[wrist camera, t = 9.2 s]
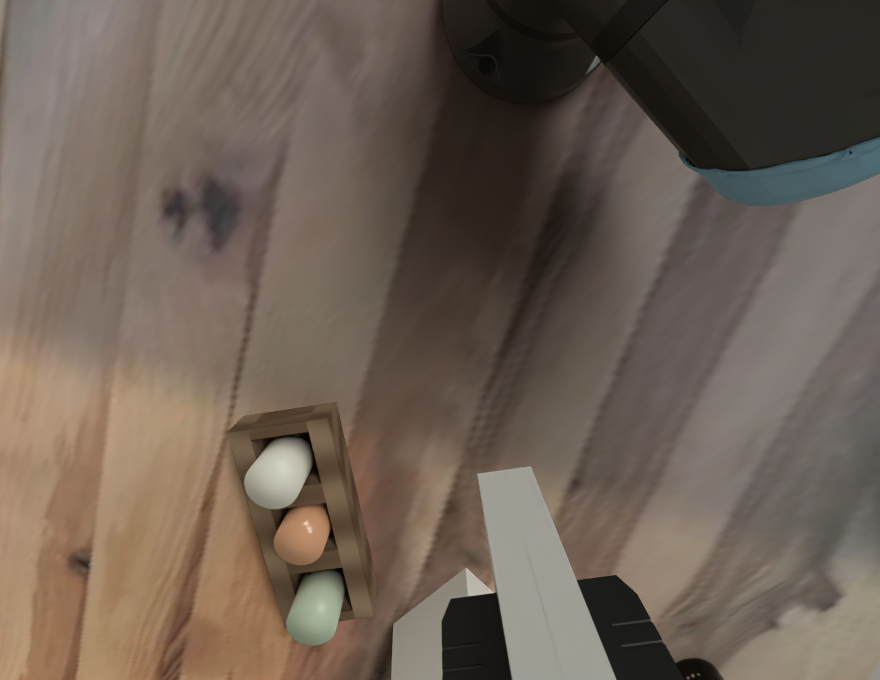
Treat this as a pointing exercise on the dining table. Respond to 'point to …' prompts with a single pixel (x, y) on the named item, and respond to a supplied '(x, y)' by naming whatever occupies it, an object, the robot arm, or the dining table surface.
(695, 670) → the supplement bottle
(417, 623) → the milk
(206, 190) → the dining table surface
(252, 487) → the off-white button
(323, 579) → the pale green domed cylinder
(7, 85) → the dining table surface
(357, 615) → the wooden compartment tray
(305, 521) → the peach rounded cylinder
